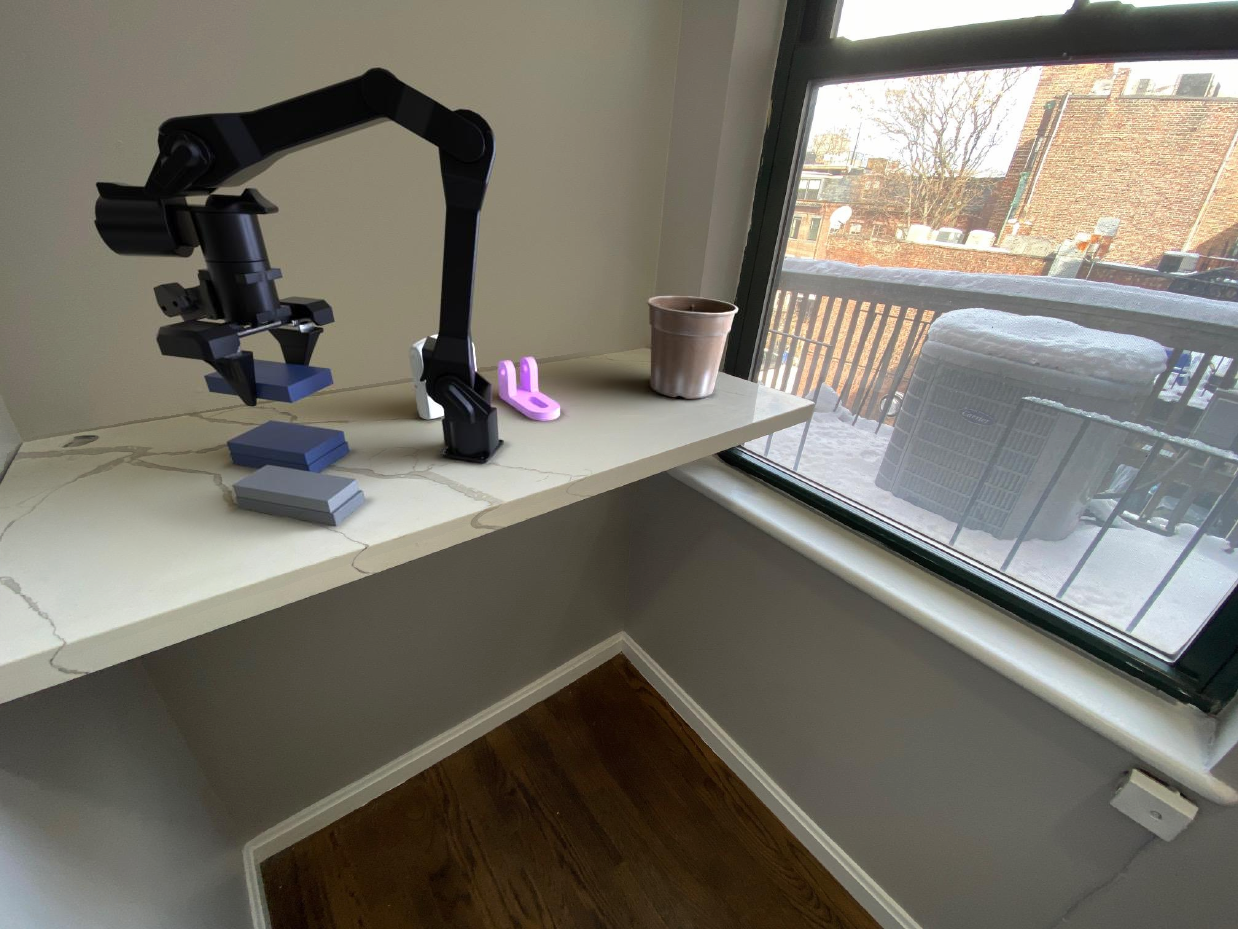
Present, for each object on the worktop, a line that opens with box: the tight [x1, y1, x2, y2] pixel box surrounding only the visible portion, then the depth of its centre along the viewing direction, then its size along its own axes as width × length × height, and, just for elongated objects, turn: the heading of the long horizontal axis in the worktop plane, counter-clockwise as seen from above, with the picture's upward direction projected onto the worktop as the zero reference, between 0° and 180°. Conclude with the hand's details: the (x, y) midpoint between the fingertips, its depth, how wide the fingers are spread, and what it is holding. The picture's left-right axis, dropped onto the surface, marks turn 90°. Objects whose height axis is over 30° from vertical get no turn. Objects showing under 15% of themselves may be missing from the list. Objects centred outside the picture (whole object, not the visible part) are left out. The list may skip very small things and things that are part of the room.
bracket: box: [497, 356, 561, 422], centre depth 85 cm, size 13×6×7 cm, turn 38°
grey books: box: [231, 465, 366, 526], centre depth 57 cm, size 12×5×3 cm, turn 79°
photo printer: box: [408, 333, 478, 420], centre depth 80 cm, size 10×4×12 cm, turn 140°
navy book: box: [203, 358, 335, 404], centre depth 61 cm, size 11×7×2 cm, turn 79°
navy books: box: [226, 419, 351, 473], centre depth 66 cm, size 11×7×3 cm, turn 79°
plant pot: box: [646, 295, 739, 400], centre depth 95 cm, size 16×16×16 cm
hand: (276, 395), depth 62 cm, fingers closed on navy book, 7 cm apart
